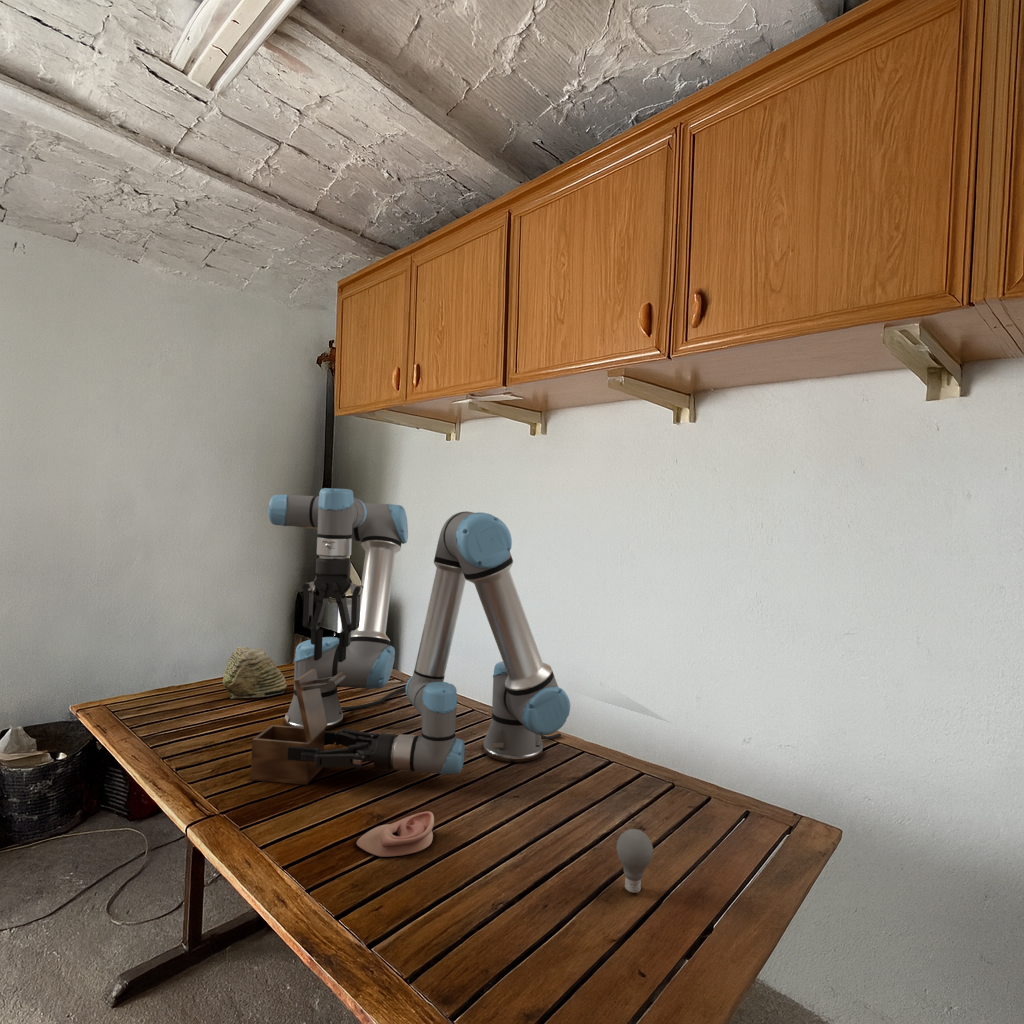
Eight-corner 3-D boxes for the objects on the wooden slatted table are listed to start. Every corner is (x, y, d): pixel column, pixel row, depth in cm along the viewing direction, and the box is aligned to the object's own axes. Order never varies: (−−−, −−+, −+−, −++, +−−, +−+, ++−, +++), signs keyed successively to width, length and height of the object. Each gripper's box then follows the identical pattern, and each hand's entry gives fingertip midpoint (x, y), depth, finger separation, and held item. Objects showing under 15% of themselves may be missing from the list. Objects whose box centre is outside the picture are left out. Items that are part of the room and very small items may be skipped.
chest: (250, 779, 140) (252, 739, 140) (270, 762, 149) (271, 724, 149) (307, 784, 139) (308, 744, 139) (323, 767, 148) (325, 729, 148)
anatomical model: (349, 829, 113) (376, 800, 125) (348, 851, 113) (375, 820, 125) (420, 841, 111) (440, 810, 122) (419, 863, 111) (439, 830, 122)
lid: (293, 680, 139) (330, 673, 138) (311, 669, 148) (345, 663, 147) (306, 741, 139) (342, 735, 138) (322, 726, 148) (357, 720, 147)
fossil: (218, 695, 195) (220, 647, 195) (278, 685, 208) (279, 640, 207) (228, 703, 189) (230, 653, 188) (289, 692, 201) (290, 645, 201)
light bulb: (610, 879, 108) (613, 822, 108) (644, 879, 109) (647, 822, 109) (619, 902, 102) (622, 840, 102) (655, 901, 103) (658, 840, 103)
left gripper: (287, 556, 139) (284, 661, 140) (367, 560, 138) (363, 666, 138) (302, 553, 147) (298, 653, 147) (377, 557, 145) (373, 658, 146)
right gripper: (379, 790, 131) (275, 781, 133) (406, 749, 153) (316, 742, 155) (381, 754, 131) (276, 746, 133) (408, 718, 153) (317, 711, 155)
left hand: (329, 659), depth 143 cm, fingers open, 5 cm apart
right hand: (298, 744), depth 144 cm, fingers closed on chest, 9 cm apart
